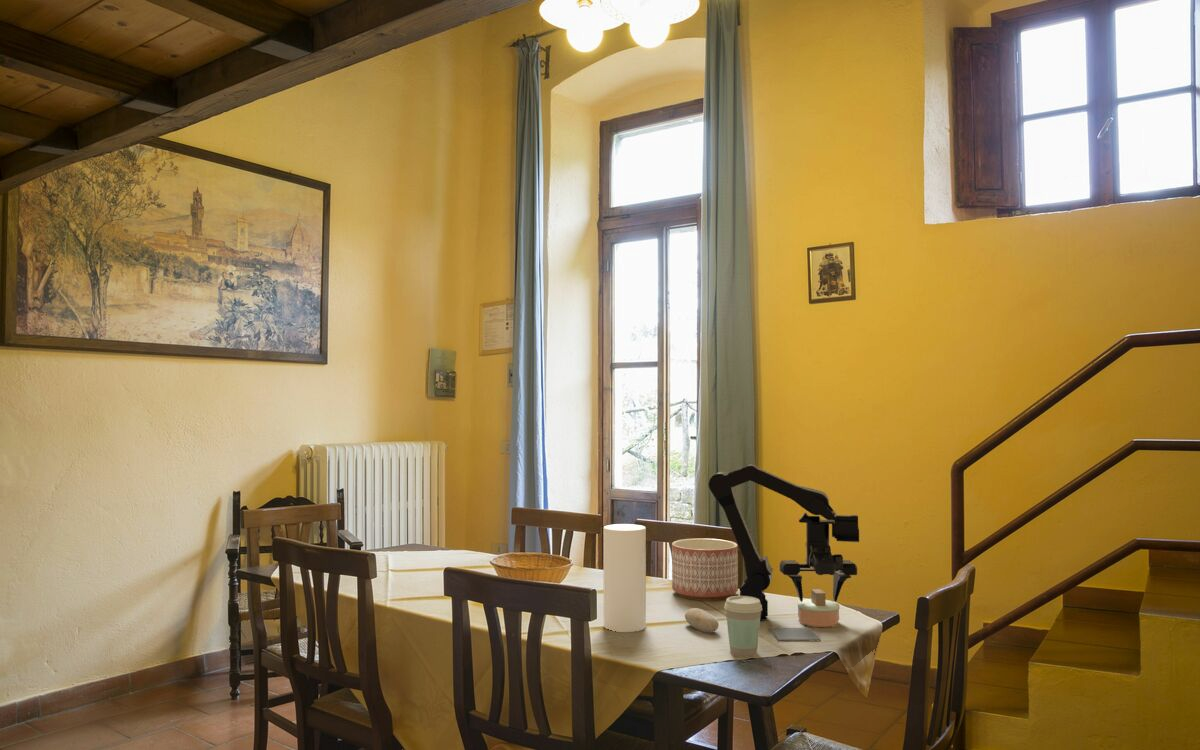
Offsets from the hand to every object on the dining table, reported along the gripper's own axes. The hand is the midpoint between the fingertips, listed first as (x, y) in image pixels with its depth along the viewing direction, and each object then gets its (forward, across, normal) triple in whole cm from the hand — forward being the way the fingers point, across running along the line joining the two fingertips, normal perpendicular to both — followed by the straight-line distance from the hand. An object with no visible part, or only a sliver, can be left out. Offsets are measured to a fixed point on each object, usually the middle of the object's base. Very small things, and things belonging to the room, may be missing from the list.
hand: (818, 601), depth 209 cm
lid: (+1, 0, 0) cm, 1 cm away
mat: (+5, -9, -11) cm, 15 cm away
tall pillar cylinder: (+6, -50, -3) cm, 50 cm away
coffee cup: (+6, -24, -25) cm, 35 cm away
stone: (+6, -31, -6) cm, 32 cm away
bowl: (+5, 0, 0) cm, 5 cm away
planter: (+6, -25, +31) cm, 40 cm away
